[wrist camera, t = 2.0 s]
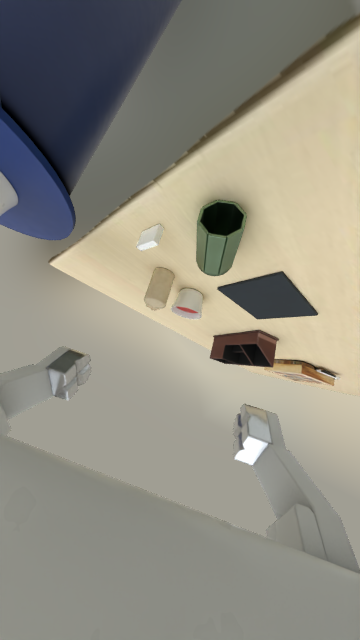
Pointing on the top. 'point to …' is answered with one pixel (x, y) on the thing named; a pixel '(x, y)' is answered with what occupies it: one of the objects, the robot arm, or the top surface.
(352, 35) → the top surface
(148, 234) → the eraser
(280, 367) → the wooden box
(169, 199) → the top surface
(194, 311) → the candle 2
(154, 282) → the candle
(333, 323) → the top surface
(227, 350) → the desk organizer
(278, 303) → the mat
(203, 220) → the bucket
